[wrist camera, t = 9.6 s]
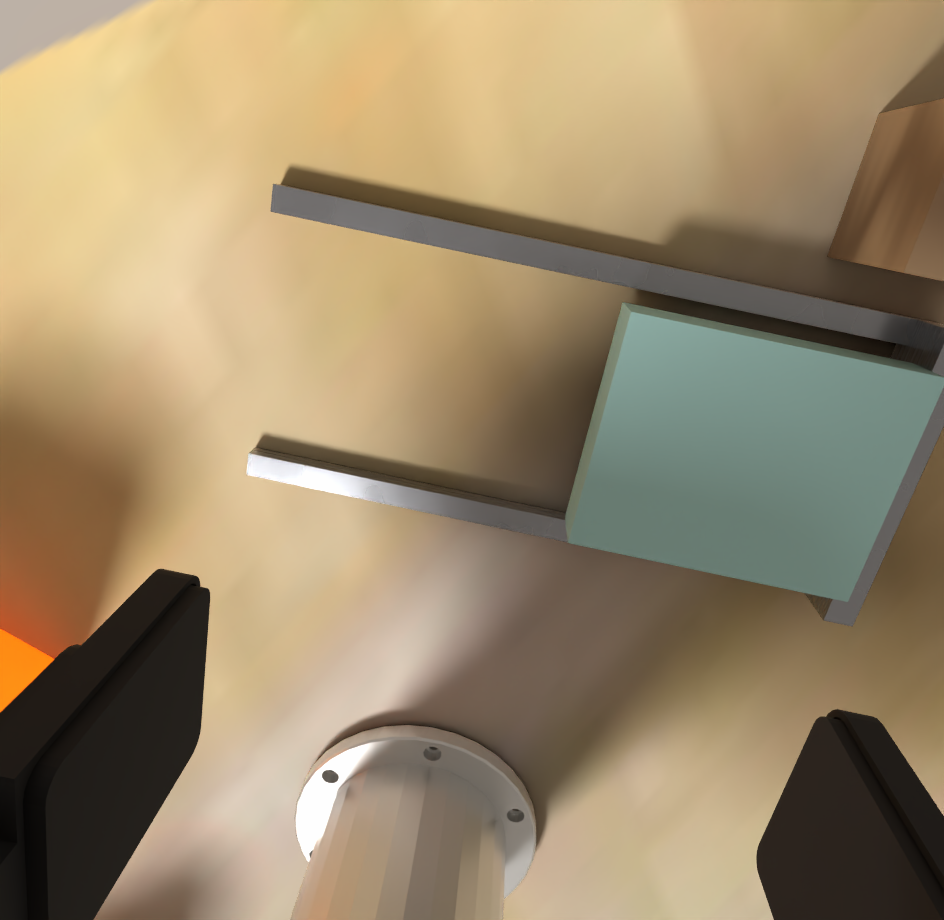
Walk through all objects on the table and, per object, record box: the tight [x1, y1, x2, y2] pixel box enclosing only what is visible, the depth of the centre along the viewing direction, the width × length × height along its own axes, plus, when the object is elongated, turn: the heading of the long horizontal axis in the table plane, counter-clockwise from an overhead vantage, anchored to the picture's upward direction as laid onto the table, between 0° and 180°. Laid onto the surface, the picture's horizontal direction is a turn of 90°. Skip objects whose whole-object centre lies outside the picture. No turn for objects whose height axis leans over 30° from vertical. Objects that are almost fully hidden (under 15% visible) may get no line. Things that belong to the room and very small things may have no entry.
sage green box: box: [565, 302, 944, 602], centre depth 28 cm, size 9×11×4 cm
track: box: [247, 184, 944, 626], centre depth 28 cm, size 12×26×3 cm, turn 79°
